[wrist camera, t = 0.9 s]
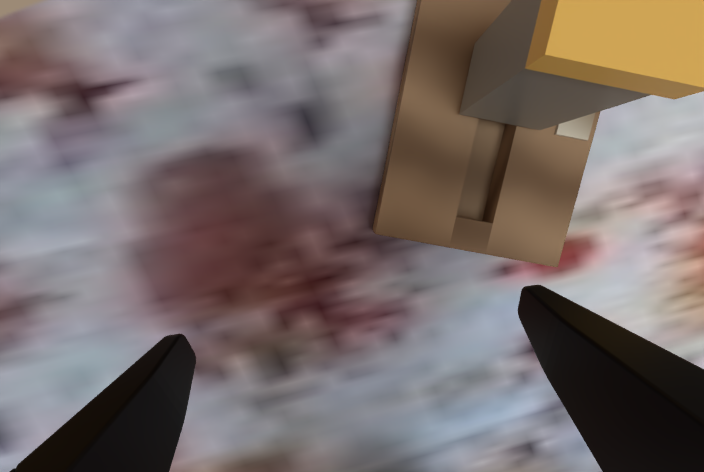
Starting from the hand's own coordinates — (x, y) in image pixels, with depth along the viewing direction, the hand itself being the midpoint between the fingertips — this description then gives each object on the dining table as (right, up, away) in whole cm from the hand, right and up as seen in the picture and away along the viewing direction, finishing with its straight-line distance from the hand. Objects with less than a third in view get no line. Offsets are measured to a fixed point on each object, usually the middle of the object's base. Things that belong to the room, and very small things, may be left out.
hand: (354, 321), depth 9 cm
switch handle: (+9, +11, +12) cm, 19 cm away
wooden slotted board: (+9, +12, +13) cm, 20 cm away
